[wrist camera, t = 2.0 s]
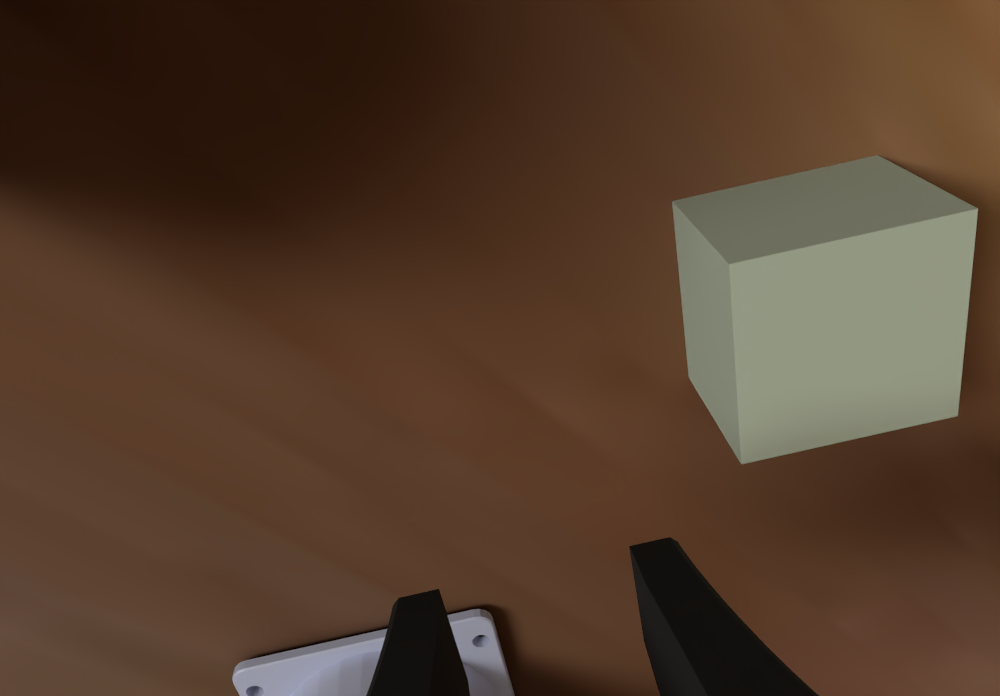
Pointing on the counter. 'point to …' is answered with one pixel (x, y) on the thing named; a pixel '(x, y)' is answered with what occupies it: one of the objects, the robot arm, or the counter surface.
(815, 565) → the counter surface
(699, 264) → the block
